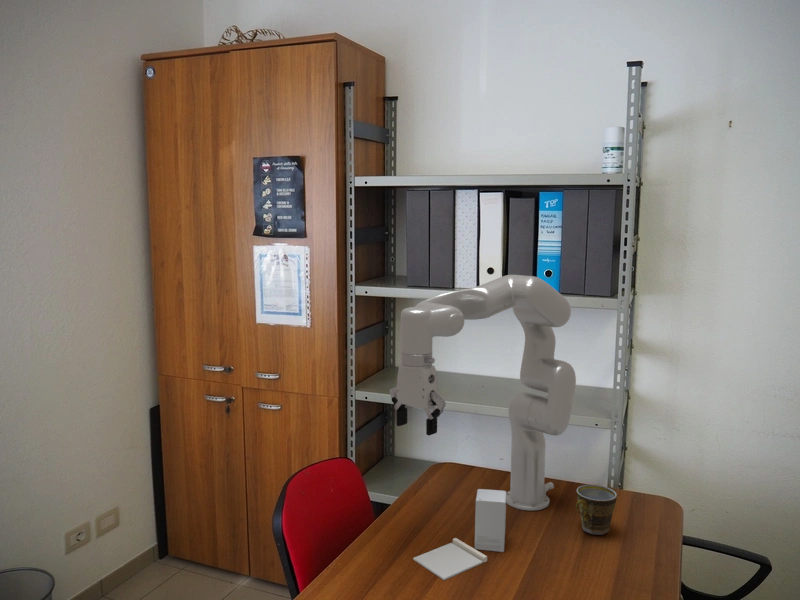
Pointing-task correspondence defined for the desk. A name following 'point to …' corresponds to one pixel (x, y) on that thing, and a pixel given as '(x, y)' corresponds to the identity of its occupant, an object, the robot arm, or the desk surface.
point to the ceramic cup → (596, 508)
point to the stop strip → (470, 550)
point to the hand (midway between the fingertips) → (416, 429)
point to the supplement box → (490, 520)
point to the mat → (447, 561)
